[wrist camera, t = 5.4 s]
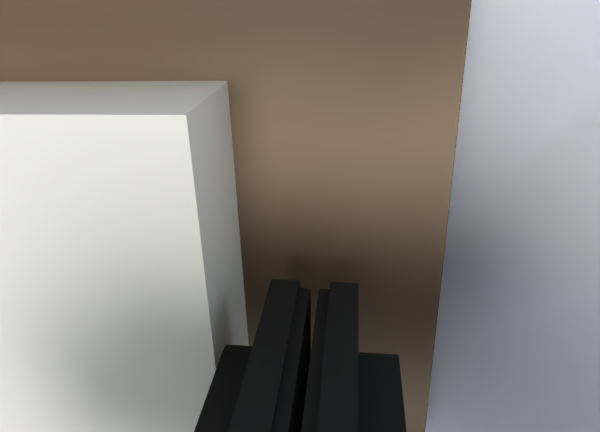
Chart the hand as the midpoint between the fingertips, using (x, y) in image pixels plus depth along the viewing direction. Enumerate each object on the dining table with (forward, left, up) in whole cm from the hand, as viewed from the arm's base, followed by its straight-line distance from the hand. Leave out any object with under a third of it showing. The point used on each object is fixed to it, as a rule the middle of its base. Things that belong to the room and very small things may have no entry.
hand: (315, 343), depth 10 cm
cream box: (0, +5, -1) cm, 5 cm away
